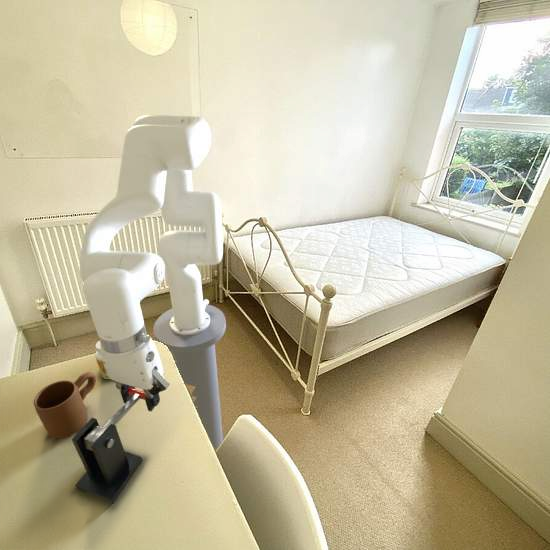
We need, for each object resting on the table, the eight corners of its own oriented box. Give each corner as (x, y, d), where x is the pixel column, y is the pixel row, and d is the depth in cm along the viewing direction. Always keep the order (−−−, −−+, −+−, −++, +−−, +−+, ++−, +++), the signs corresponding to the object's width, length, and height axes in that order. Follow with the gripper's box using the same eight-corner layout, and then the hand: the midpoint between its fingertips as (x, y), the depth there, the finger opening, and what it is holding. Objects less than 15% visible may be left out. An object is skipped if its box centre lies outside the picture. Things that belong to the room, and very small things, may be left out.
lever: (132, 393, 65) (131, 384, 64) (152, 399, 63) (151, 390, 62) (79, 446, 53) (76, 436, 52) (103, 455, 52) (100, 445, 51)
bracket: (109, 448, 63) (93, 406, 57) (142, 460, 61) (129, 418, 55) (76, 489, 56) (54, 447, 50) (113, 504, 54) (94, 462, 48)
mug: (91, 390, 75) (81, 361, 71) (113, 402, 72) (103, 373, 68) (40, 430, 66) (24, 400, 61) (62, 446, 63) (47, 416, 58)
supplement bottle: (112, 382, 77) (103, 353, 73) (97, 375, 79) (86, 347, 74) (129, 368, 82) (121, 339, 77) (114, 361, 83) (105, 333, 79)
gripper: (176, 332, 56) (188, 398, 65) (100, 313, 60) (120, 378, 69) (151, 360, 50) (167, 429, 59) (68, 338, 54) (95, 405, 63)
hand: (142, 401), depth 64 cm, fingers closed on lever, 5 cm apart
